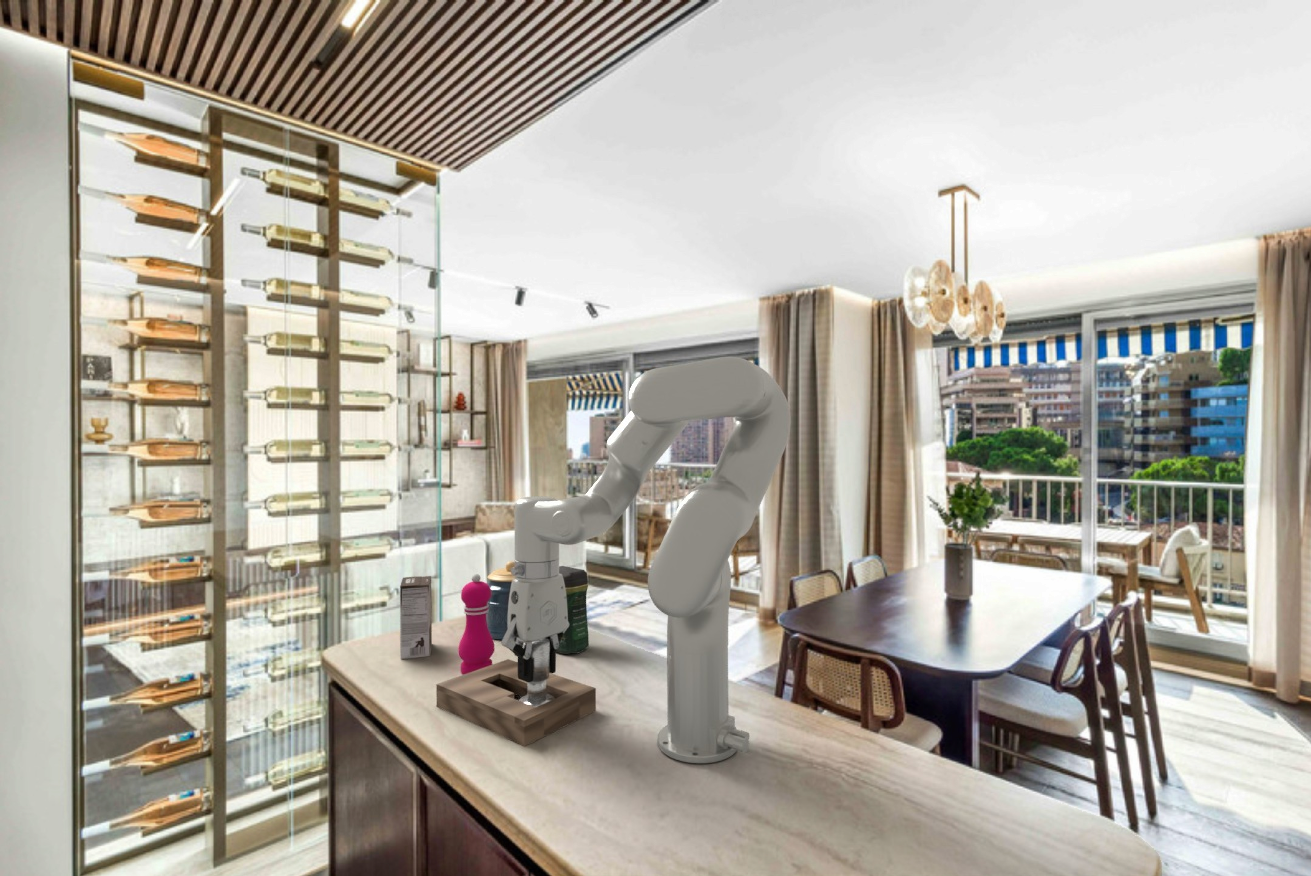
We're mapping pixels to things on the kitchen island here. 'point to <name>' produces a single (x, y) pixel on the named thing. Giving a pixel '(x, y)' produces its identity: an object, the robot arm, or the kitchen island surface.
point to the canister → (499, 600)
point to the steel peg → (539, 674)
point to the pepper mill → (476, 627)
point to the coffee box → (415, 617)
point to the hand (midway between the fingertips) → (537, 674)
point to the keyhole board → (514, 702)
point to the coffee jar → (575, 611)
